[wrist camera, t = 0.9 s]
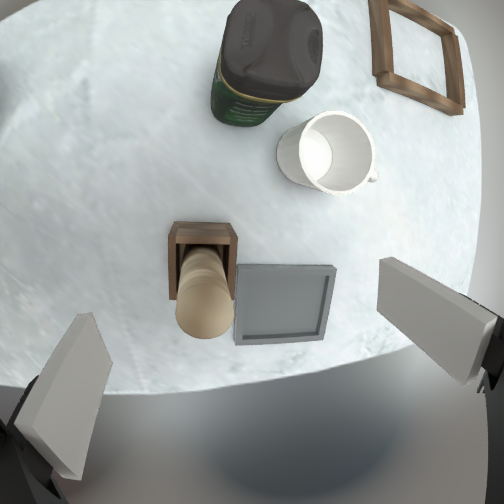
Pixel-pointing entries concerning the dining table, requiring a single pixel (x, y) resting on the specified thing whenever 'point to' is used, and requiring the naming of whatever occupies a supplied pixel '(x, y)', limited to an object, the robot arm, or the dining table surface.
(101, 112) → the dining table surface
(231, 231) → the pen cup
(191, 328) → the dowel
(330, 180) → the mug
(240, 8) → the coffee jar
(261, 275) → the tray
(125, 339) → the dining table surface
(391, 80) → the frame
